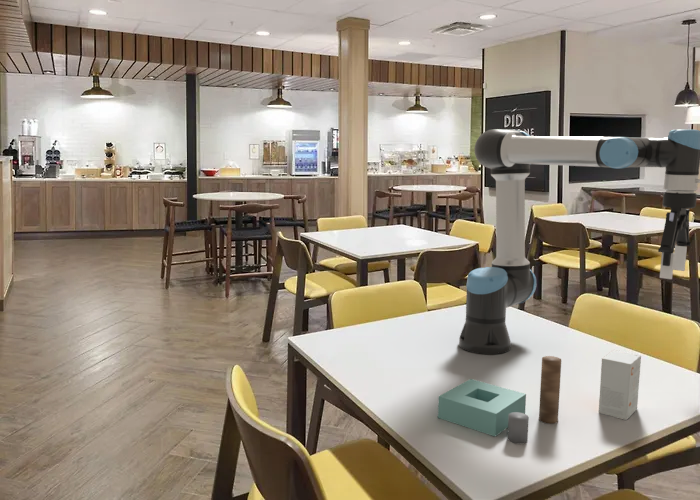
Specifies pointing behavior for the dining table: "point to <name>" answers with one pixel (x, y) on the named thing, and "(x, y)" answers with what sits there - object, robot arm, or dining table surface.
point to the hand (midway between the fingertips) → (672, 274)
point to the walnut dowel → (550, 389)
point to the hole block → (480, 406)
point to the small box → (619, 384)
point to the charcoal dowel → (518, 427)
